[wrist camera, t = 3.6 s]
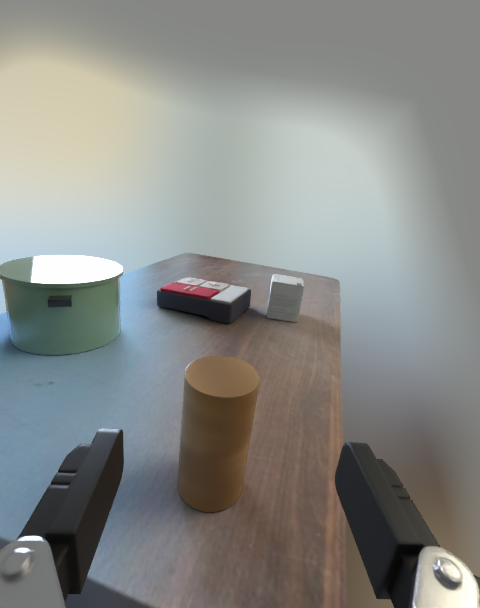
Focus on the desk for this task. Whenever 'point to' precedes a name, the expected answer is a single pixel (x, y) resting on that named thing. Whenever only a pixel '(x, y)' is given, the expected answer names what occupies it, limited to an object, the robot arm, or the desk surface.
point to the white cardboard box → (285, 298)
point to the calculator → (205, 298)
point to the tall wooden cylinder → (216, 431)
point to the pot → (62, 303)
